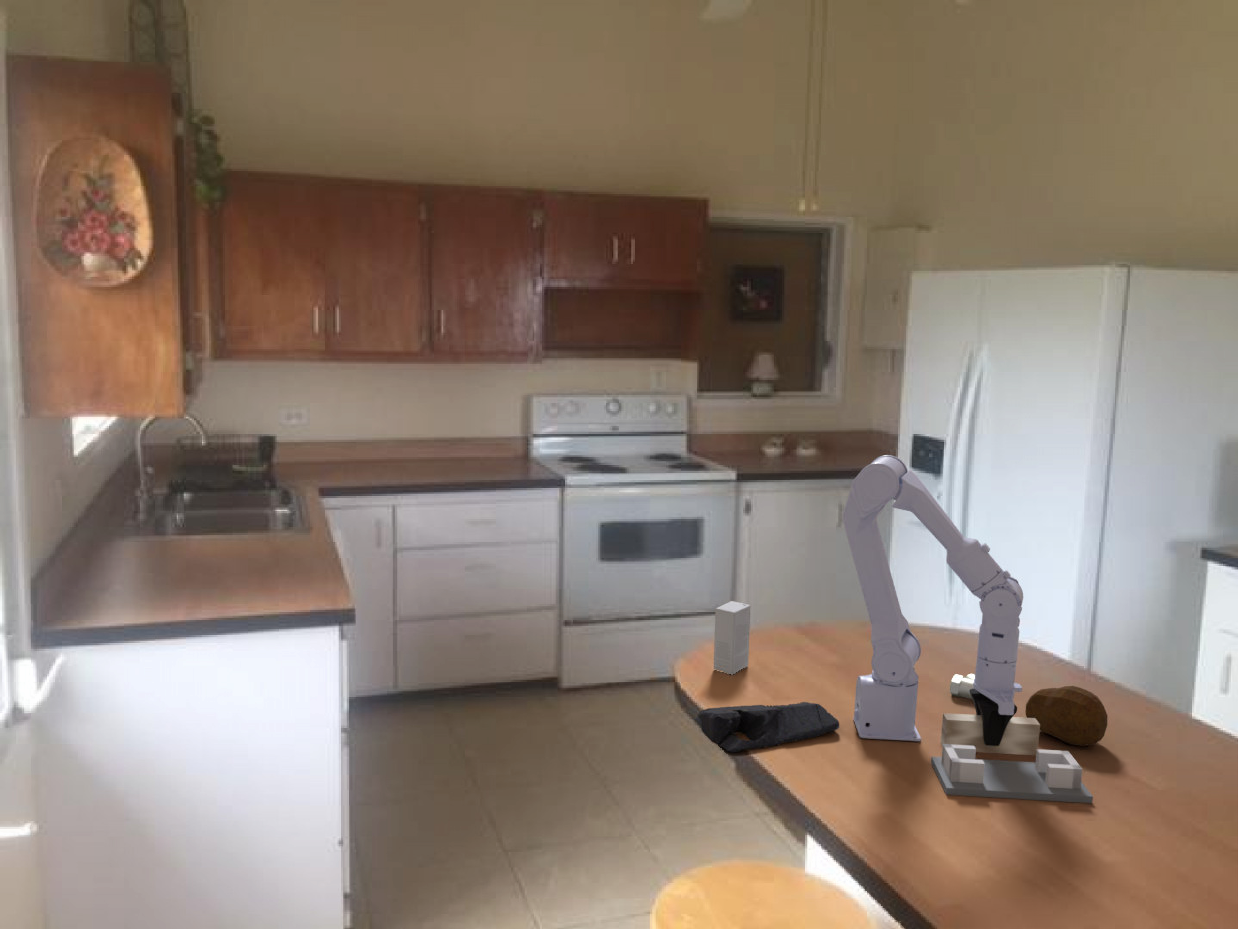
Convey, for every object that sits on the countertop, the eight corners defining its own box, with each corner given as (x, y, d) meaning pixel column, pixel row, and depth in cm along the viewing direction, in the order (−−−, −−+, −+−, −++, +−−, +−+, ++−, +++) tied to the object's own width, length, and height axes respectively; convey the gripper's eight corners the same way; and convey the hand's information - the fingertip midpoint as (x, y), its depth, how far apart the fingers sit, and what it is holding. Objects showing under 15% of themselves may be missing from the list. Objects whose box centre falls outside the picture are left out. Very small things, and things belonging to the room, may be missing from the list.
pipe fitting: (963, 689, 190) (948, 697, 184) (965, 668, 189) (951, 675, 184) (1008, 701, 185) (994, 710, 179) (1010, 679, 184) (997, 687, 179)
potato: (1051, 719, 176) (1056, 669, 174) (1118, 746, 166) (1124, 694, 165) (1019, 730, 171) (1024, 678, 170) (1085, 758, 161) (1091, 704, 160)
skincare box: (728, 661, 199) (731, 600, 197) (748, 666, 196) (751, 604, 194) (712, 670, 194) (714, 607, 192) (732, 676, 191) (735, 612, 189)
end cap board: (946, 794, 149) (948, 768, 148) (930, 762, 159) (932, 737, 158) (1092, 803, 147) (1095, 776, 147) (1067, 770, 157) (1070, 745, 156)
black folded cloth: (852, 744, 166) (853, 715, 165) (721, 758, 159) (722, 728, 158) (807, 706, 180) (809, 679, 179) (686, 717, 174) (687, 690, 173)
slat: (944, 750, 163) (946, 719, 162) (940, 743, 165) (943, 713, 165) (1037, 755, 162) (1040, 724, 161) (1032, 748, 164) (1035, 718, 164)
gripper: (1038, 675, 154) (1029, 763, 156) (1009, 642, 168) (1002, 722, 170) (989, 673, 154) (981, 760, 157) (964, 640, 168) (957, 720, 171)
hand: (989, 740), depth 163 cm, fingers closed on slat, 2 cm apart
